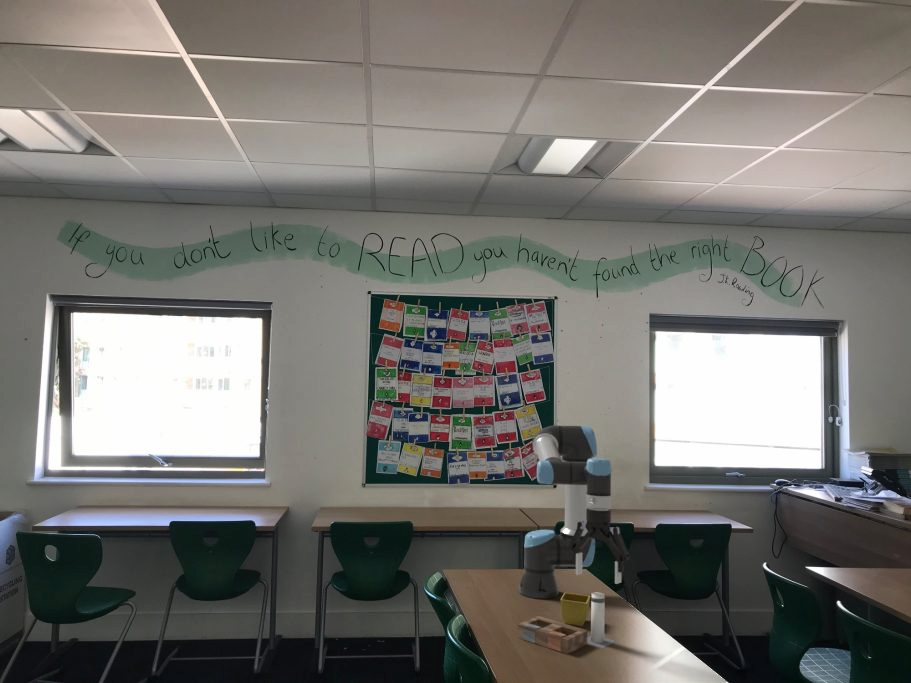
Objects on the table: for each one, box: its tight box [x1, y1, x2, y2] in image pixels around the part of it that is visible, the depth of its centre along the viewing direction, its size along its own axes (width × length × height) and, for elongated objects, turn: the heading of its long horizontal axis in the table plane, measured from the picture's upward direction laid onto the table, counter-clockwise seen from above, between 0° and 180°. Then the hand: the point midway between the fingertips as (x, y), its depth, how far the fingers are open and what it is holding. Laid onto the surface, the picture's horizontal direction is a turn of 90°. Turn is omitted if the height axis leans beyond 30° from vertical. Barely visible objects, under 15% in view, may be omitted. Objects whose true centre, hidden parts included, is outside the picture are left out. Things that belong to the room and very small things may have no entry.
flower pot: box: [560, 592, 591, 627], centre depth 218 cm, size 9×9×9 cm
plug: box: [590, 591, 606, 643], centre depth 201 cm, size 4×4×14 cm
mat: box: [587, 634, 616, 649], centre depth 200 cm, size 8×8×1 cm
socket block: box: [517, 615, 588, 655], centre depth 200 cm, size 11×18×5 cm, turn 48°
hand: (598, 578), depth 202 cm, fingers open, 13 cm apart
